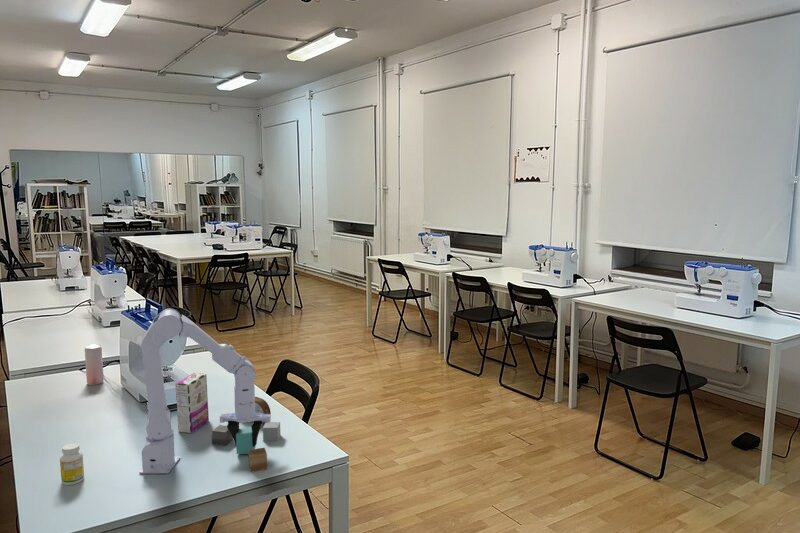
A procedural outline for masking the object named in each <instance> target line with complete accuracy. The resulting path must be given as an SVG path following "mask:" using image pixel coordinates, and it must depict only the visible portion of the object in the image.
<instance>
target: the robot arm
mask: <svg viewBox="0 0 800 533" xmlns="http://www.w3.org/2000/svg"><path fill="white" fill-rule="evenodd" d="M177 336H178V338H182V339H183V338H190V339H191V340H192V341H194V342H196V344H198V345H199V346H201V347H203V348H204V349H206V350H207V352H209V353H211V359H212V361H213V362H215V363H216V364H217V365H218V366H220V367H221V368H223V369H224V370H225V371H226V372H228V373H230V374H233V375H234V391H233V392H234V412H232V413H221V415H220V416H219V423H220V424H224V423H227V425H226V426H227V428H228V430H229V431H230V433H231V435H232V437H233V442H234V446H235V447H236V433H237V432H238V430H239V429H240V424H245V423H252V425H251V427H250V428H252V435H253V447H255V446H256V447H257V445H258V444H257V442H258V437H259V434H260V430H261V428H262V425H263V424H264V423H270V422H272V418H271V416H272V415H271V414H262V413H255V397H256V395H255V392H256V391H255V390H256V388H255V378H256V375H257V373H256V371H255V368H254V365H253V363H252V362H251V361H250V359H249V358H247V357H246V356H245V355H241V354H239V353H238V352H237V351H236V350H235V348H234V346H233V345H232V344H227V343H218V342H217V341H216V340H215V339H213V337H212V336H210V334H208V333H207V332H205V331H204V330H203V329H202V328H201V327H200V326H198V325H197V324H196V323H195V322H193V321H192V320H191V319H190V318H188V317H187V316H185V315H184V314H180V312H179V311H178V310H176V309H174V308H166V309H164V310H162V311H161V312H159V313H158V314H157V315H156V316H155V317H154V318H153V319H152V322H151V324H150V325H149V327H148V328H147V330H146V332H145V334H144V336H143V337H142V339H141V351H142V352H141V354H142V361H143V371H144V378H145V379H144V380H145V389H146V395H147V406H148V410H147V411H148V415H147V423H146V424H147V425H146V428H145V429H146V434H145V445H144V447H142V450H141V462H142V464H141V465H142V468H141V469H140V470H139V474H169V473H170V472H171V471H172V469H173V468H174V466H176V464H177V463H178V462H179V461H180V459H181V456H175V455H176V454H175V453H176V452H175V437H174V429H172V413H171V411H170V409H169V408H168V406H167V400H166V391H165V383H164V382H165V381H164V375H163V374H164V372H163V365H162V354H161V348H162V346H163V345H164V344H165V343H166V342H167V341H169V340H171V339H173V338H175V337H177ZM263 422H264V423H263ZM256 447H255V448H256Z"/></svg>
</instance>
